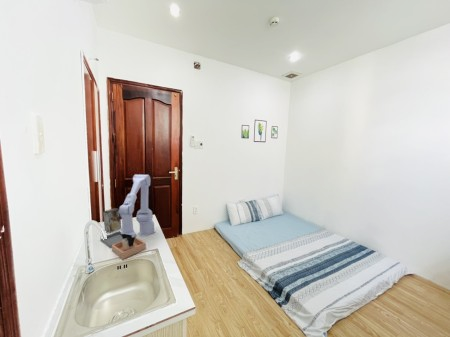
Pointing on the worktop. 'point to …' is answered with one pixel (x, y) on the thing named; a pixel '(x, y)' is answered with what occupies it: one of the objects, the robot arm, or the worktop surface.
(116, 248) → the bin
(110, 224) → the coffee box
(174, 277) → the worktop surface
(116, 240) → the tray
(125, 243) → the stone block
